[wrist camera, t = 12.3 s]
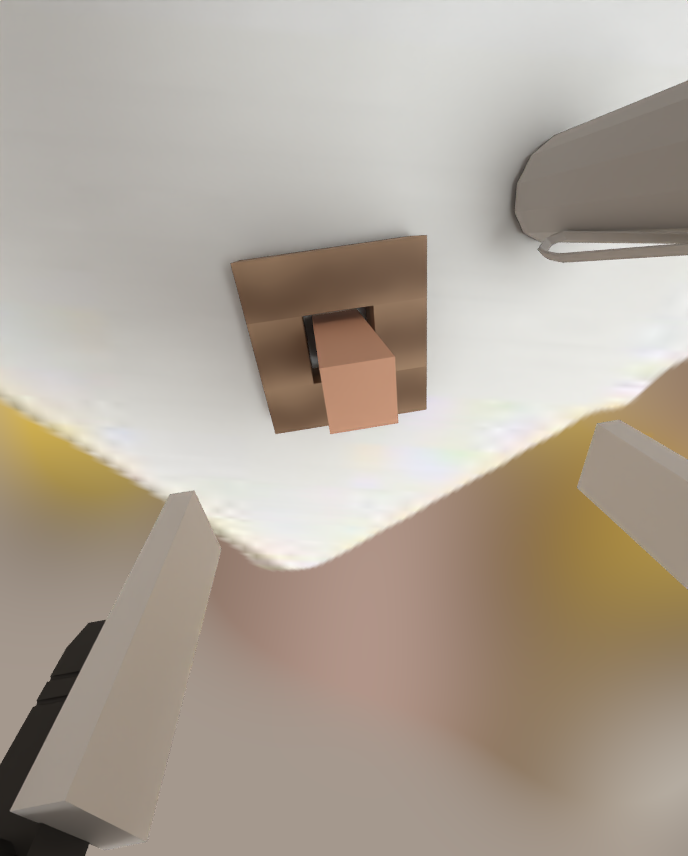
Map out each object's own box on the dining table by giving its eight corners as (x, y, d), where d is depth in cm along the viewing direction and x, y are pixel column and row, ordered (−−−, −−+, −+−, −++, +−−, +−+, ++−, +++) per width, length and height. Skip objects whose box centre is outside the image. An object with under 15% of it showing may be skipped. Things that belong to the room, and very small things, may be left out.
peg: (311, 315, 29) (319, 368, 17) (356, 308, 29) (394, 356, 17) (319, 359, 31) (330, 434, 19) (360, 352, 31) (398, 422, 19)
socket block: (239, 260, 27) (230, 263, 23) (410, 235, 27) (426, 235, 24) (278, 414, 34) (275, 434, 30) (413, 392, 34) (426, 409, 31)
